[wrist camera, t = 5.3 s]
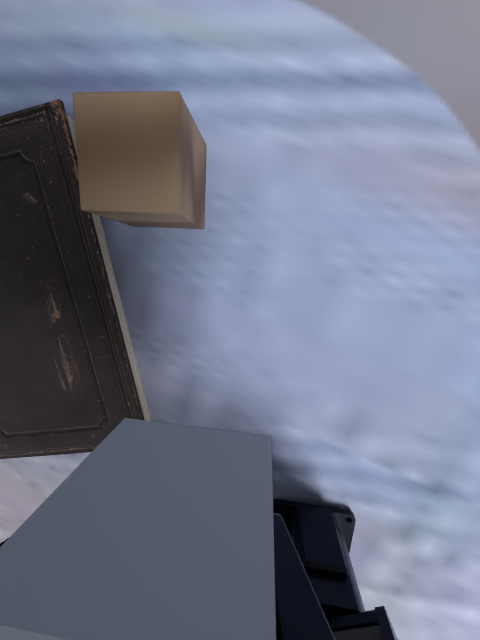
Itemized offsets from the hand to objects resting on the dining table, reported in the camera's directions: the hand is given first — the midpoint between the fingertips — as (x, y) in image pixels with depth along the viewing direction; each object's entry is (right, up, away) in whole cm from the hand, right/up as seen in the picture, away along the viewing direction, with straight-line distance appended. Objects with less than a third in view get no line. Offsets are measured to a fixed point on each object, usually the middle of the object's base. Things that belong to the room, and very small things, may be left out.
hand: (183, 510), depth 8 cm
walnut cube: (-3, +14, +9) cm, 17 cm away
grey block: (0, 0, +1) cm, 1 cm away
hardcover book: (-15, +7, +12) cm, 20 cm away
